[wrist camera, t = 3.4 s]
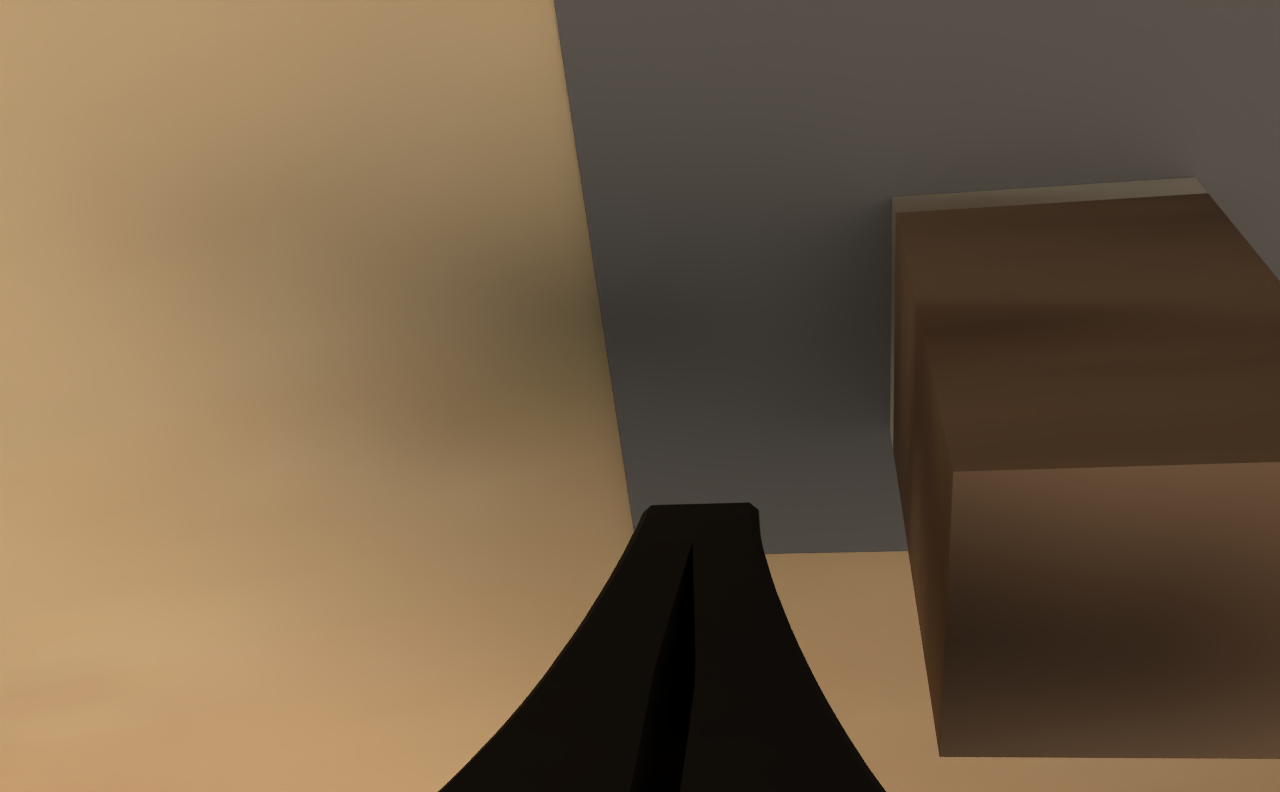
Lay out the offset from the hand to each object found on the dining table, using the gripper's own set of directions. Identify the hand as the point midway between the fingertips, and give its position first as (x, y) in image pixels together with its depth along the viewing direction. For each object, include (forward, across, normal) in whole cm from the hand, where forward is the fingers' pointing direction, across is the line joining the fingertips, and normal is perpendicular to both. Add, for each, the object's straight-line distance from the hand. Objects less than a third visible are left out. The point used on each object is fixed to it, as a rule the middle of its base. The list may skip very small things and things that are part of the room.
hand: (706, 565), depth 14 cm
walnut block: (+6, -5, 0) cm, 8 cm away
